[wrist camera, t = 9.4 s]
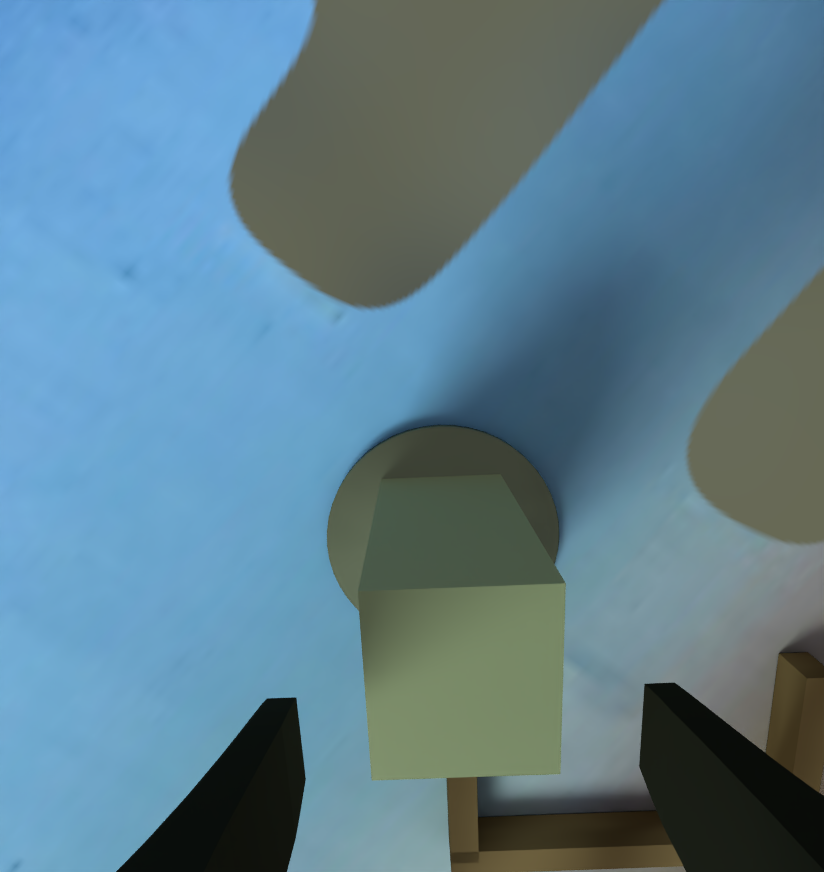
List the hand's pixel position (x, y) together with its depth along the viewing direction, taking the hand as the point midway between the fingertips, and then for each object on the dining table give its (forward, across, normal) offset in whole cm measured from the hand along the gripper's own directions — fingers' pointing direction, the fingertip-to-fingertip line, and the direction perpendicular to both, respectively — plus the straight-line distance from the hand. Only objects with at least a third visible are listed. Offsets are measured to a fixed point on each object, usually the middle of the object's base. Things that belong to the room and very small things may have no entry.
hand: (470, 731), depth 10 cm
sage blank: (+9, 0, 0) cm, 9 cm away
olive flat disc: (+10, 0, 0) cm, 10 cm away
